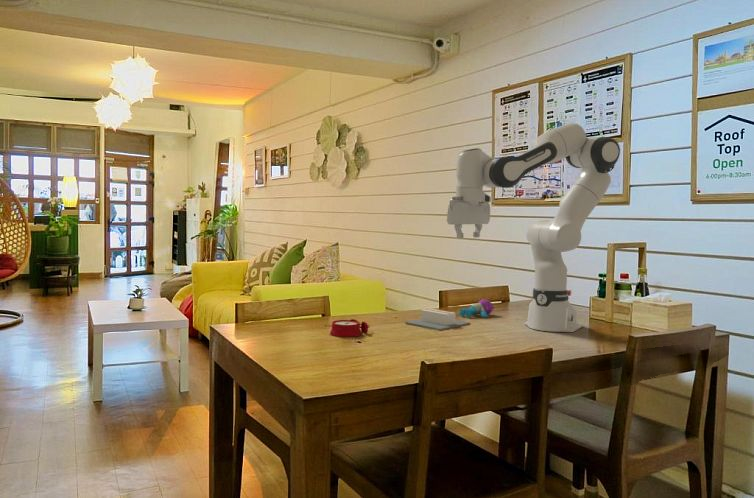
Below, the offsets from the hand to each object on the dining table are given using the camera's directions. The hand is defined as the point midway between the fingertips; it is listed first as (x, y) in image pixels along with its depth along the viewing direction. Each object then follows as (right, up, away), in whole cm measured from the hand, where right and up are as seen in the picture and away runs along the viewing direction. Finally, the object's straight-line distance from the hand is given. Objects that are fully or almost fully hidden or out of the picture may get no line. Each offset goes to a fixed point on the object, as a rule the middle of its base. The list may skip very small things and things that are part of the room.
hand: (468, 237), depth 202 cm
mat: (-9, -31, +16) cm, 36 cm away
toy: (+9, -31, +35) cm, 48 cm away
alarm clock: (-40, -32, -4) cm, 52 cm away
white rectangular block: (-9, -31, +16) cm, 36 cm away
